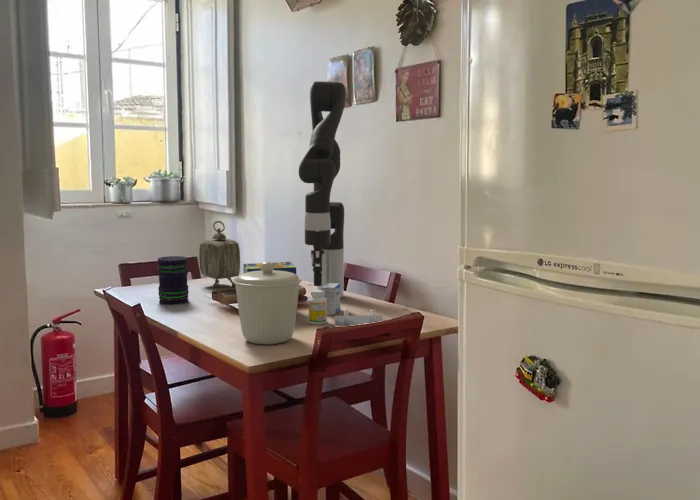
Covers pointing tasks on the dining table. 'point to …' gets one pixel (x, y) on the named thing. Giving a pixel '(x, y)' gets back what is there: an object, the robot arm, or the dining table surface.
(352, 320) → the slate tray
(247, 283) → the canister
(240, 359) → the dining table surface
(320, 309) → the supplement bottle
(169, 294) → the storage jar
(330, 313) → the medicine box
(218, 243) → the tabletop clock
